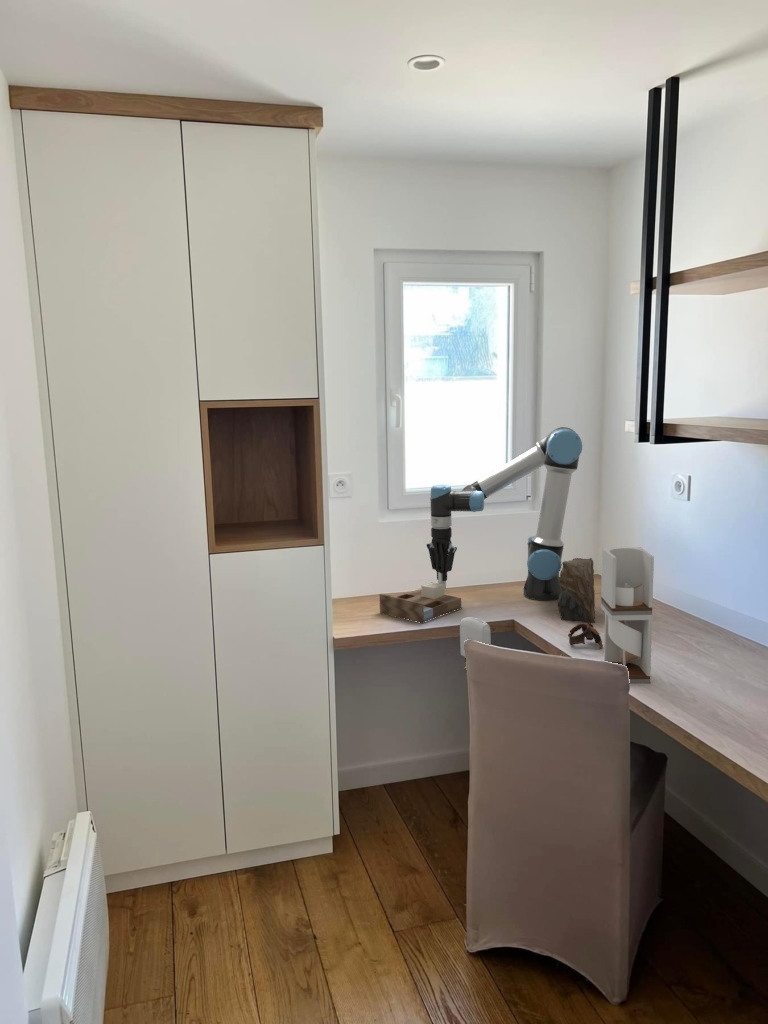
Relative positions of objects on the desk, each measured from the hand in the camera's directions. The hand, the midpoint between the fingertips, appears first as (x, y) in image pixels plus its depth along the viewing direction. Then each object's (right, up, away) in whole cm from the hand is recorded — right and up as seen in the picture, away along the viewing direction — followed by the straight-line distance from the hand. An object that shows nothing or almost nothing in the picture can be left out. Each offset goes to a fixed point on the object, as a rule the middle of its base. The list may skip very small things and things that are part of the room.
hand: (442, 588), depth 283 cm
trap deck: (-8, -7, -8) cm, 14 cm away
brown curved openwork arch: (+41, -13, -49) cm, 65 cm away
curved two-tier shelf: (+45, -17, -73) cm, 88 cm away
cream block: (-4, -2, -4) cm, 6 cm away
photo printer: (+6, -15, -57) cm, 59 cm away
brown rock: (+46, -8, -22) cm, 52 cm away
